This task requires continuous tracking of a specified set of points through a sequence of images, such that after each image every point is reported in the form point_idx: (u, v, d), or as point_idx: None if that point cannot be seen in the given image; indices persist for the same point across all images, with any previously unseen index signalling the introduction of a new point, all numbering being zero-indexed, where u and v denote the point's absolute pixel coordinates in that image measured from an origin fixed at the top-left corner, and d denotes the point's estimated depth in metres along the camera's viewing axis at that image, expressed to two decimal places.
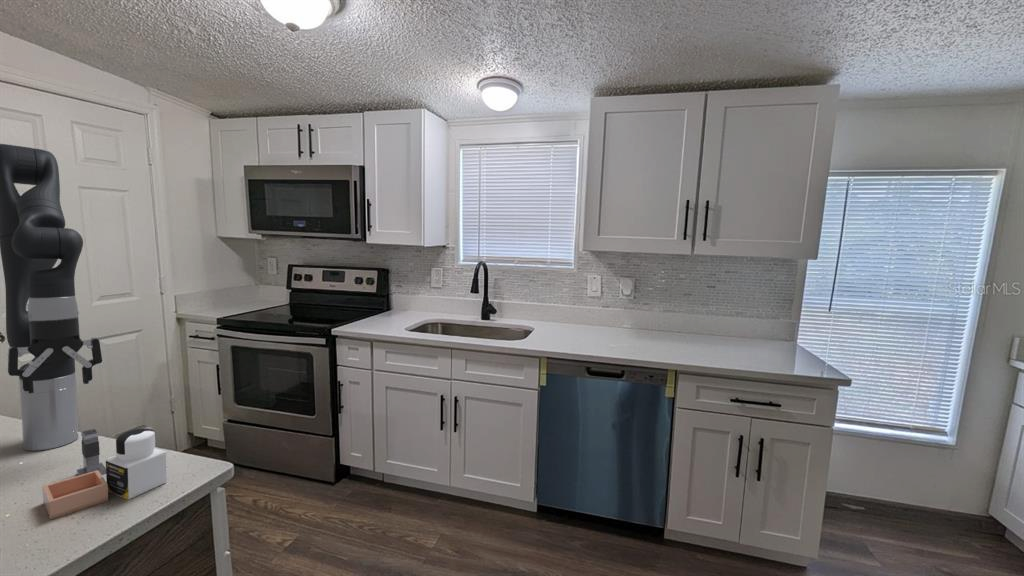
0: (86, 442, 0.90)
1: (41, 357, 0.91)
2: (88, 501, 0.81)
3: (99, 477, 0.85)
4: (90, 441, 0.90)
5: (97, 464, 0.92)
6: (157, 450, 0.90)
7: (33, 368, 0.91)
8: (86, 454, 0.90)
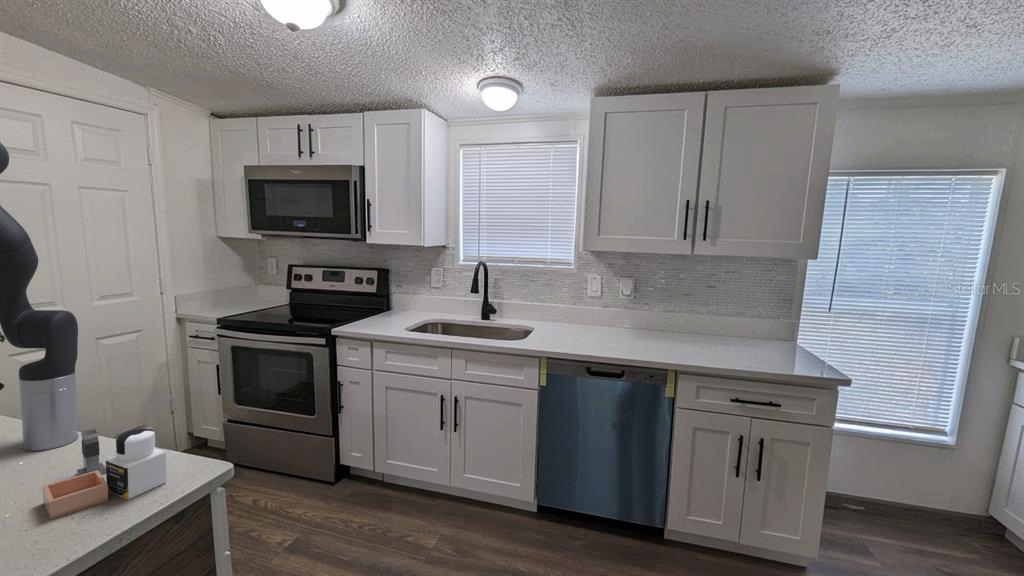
0: (86, 442, 0.90)
1: None
2: (88, 501, 0.81)
3: (99, 477, 0.85)
4: (90, 441, 0.90)
5: (97, 464, 0.92)
6: (157, 450, 0.90)
7: None
8: (86, 454, 0.90)
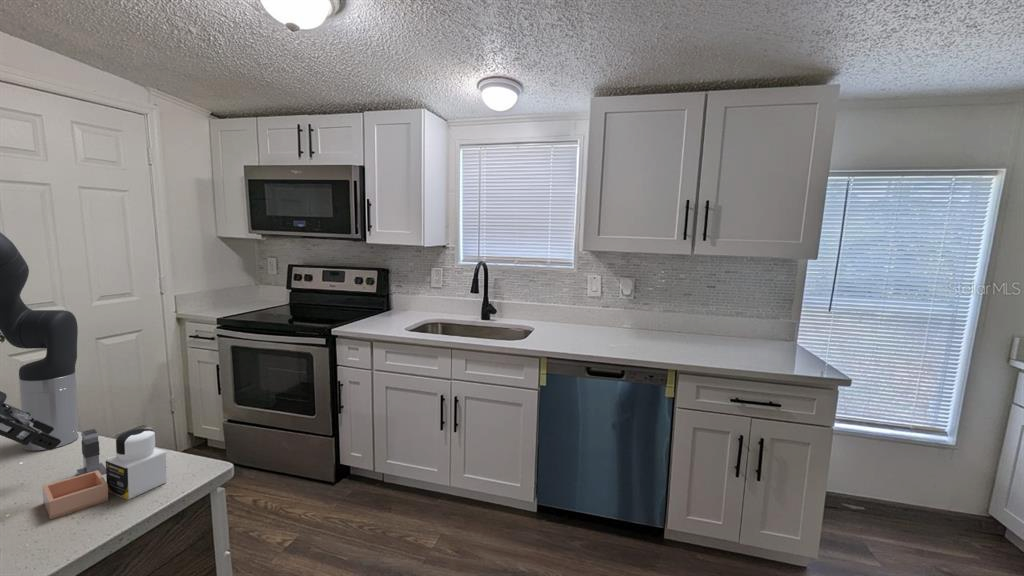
0: (86, 442, 0.90)
1: None
2: (88, 501, 0.81)
3: (99, 477, 0.85)
4: (90, 441, 0.90)
5: (97, 464, 0.92)
6: (157, 450, 0.90)
7: None
8: (86, 454, 0.90)
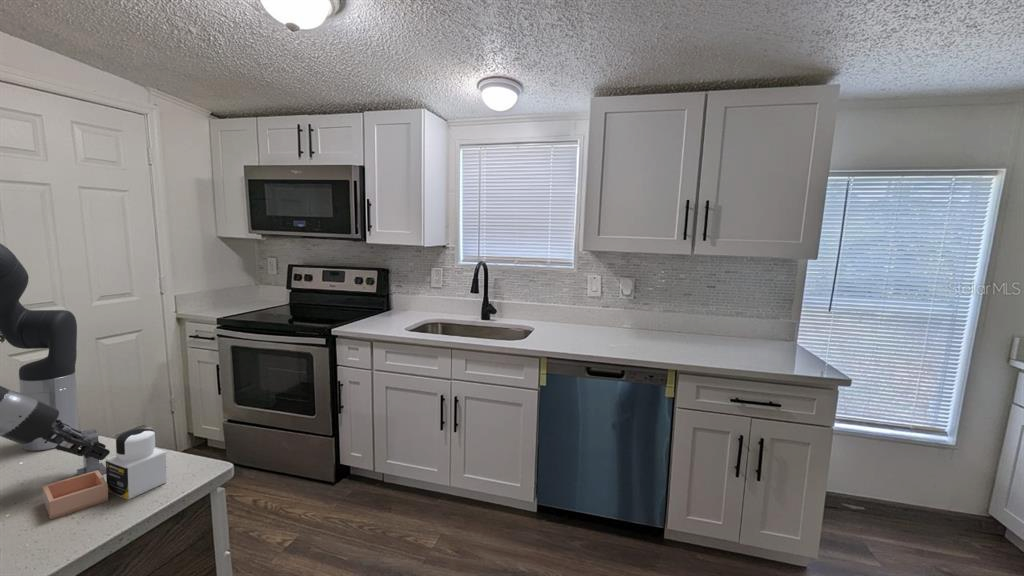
0: None
1: None
2: (88, 501, 0.81)
3: (99, 477, 0.85)
4: (90, 441, 0.90)
5: (97, 464, 0.92)
6: (157, 450, 0.90)
7: None
8: None
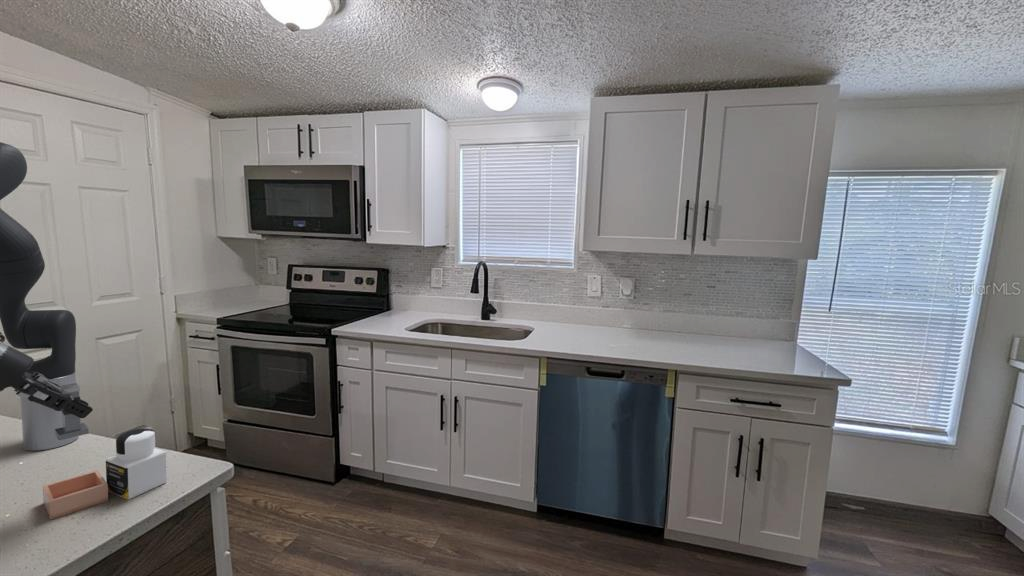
0: None
1: None
2: (88, 501, 0.81)
3: (99, 477, 0.85)
4: None
5: (78, 423, 0.80)
6: (157, 450, 0.90)
7: None
8: None
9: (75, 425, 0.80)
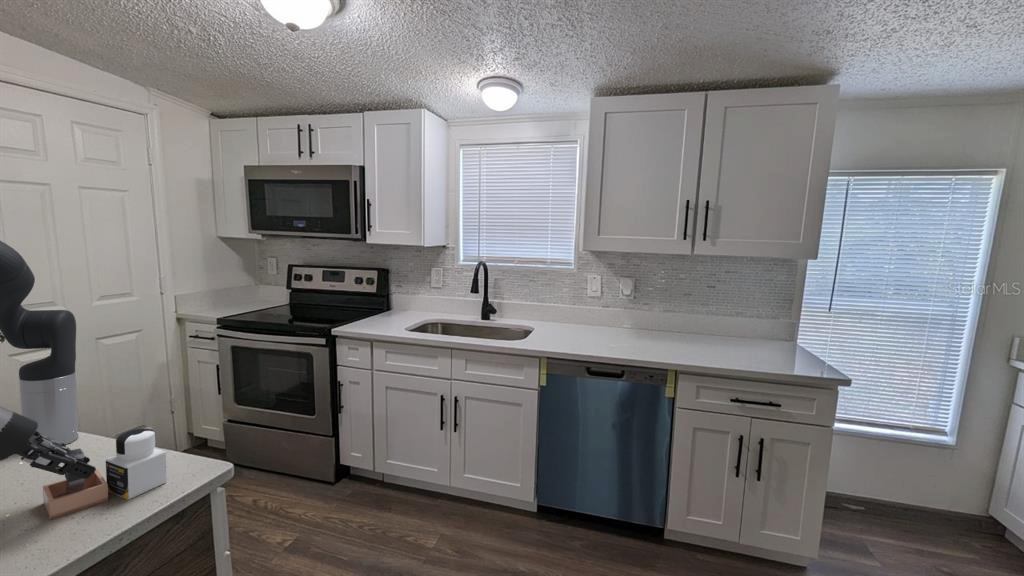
0: None
1: None
2: (88, 501, 0.81)
3: (99, 477, 0.85)
4: None
5: (82, 488, 0.82)
6: (157, 450, 0.90)
7: None
8: (69, 478, 0.80)
9: None
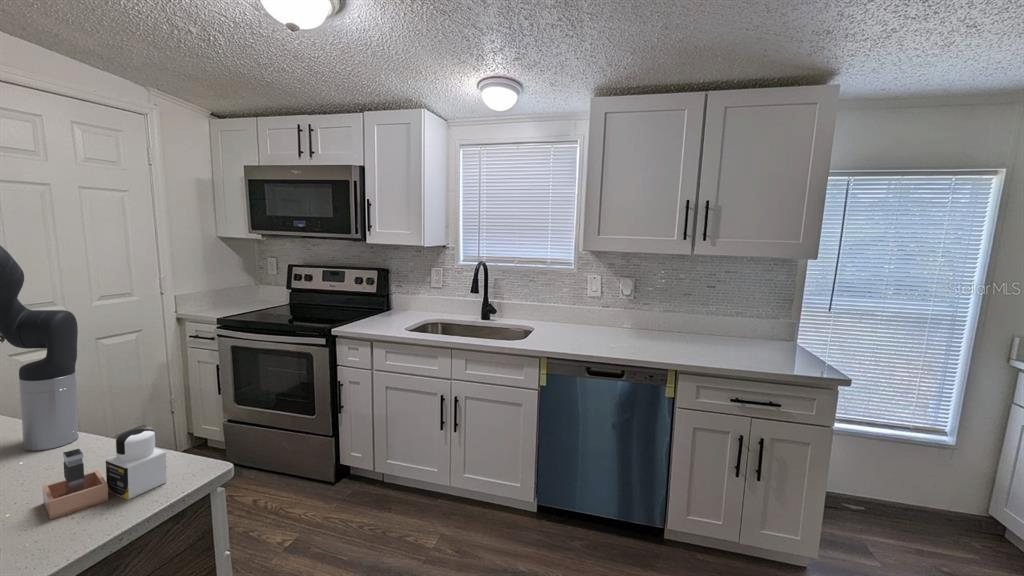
0: (69, 464, 0.80)
1: None
2: (88, 501, 0.81)
3: (99, 477, 0.85)
4: (73, 463, 0.81)
5: (81, 488, 0.82)
6: (157, 450, 0.90)
7: None
8: (69, 478, 0.80)
9: None
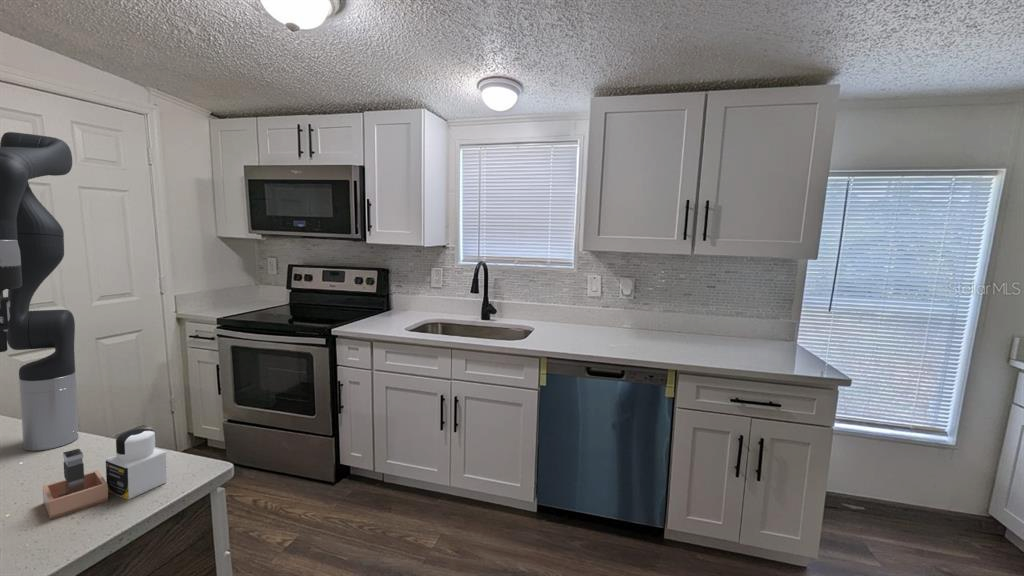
0: (69, 464, 0.80)
1: None
2: (88, 501, 0.81)
3: (99, 477, 0.85)
4: (73, 463, 0.81)
5: (81, 488, 0.82)
6: (157, 450, 0.90)
7: None
8: (69, 478, 0.80)
9: None
